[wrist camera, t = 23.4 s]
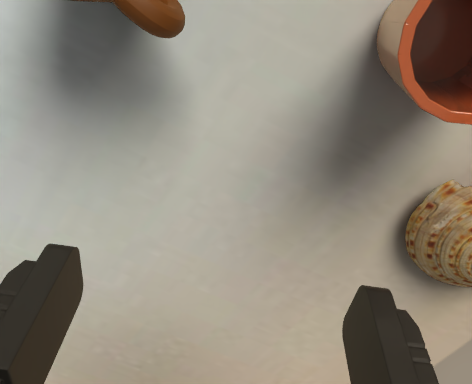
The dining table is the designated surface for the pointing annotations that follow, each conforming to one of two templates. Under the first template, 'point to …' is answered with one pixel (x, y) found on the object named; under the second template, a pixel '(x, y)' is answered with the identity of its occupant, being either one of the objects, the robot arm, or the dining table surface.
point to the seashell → (443, 234)
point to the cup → (430, 54)
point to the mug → (152, 15)
